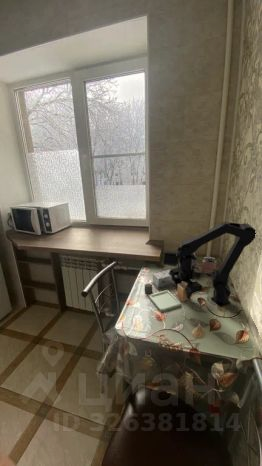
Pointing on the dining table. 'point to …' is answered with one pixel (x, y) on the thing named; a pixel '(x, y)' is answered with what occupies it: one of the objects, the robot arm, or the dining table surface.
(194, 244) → the robot arm
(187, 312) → the dining table surface
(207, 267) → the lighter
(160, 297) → the tray
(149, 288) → the dark rounded cylinder
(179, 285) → the square block
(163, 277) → the box
